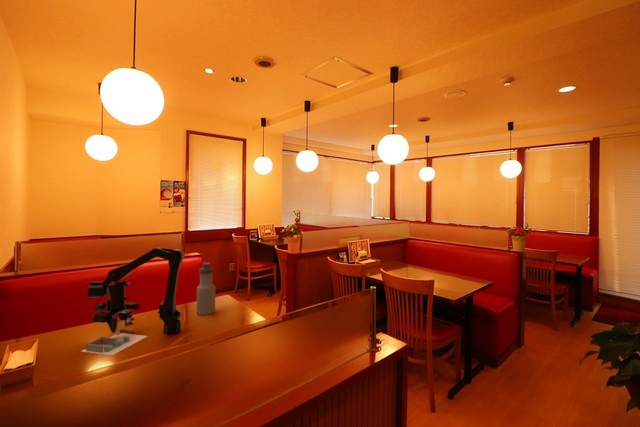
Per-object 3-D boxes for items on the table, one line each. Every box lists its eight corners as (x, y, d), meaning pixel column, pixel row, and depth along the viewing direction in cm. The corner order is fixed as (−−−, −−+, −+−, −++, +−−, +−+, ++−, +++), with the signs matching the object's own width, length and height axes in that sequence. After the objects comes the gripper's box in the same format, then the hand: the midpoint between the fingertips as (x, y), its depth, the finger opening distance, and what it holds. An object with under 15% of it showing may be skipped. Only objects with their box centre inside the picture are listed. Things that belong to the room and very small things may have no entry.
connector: (136, 333, 131) (136, 321, 131) (129, 336, 127) (129, 324, 127) (116, 331, 133) (116, 319, 133) (109, 334, 130) (109, 322, 130)
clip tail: (118, 346, 122) (118, 341, 122) (108, 351, 118) (108, 347, 118) (114, 345, 123) (114, 341, 123) (103, 351, 118) (103, 346, 118)
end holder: (116, 344, 124) (116, 338, 124) (100, 352, 117) (100, 346, 117) (102, 342, 125) (102, 337, 125) (86, 350, 118) (86, 344, 118)
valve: (116, 321, 152) (118, 328, 143) (116, 308, 152) (118, 315, 143) (131, 318, 156) (134, 325, 147) (131, 306, 156) (134, 312, 147)
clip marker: (128, 341, 127) (129, 336, 127) (118, 346, 122) (118, 341, 122) (125, 340, 128) (125, 336, 128) (114, 345, 123) (114, 341, 123)
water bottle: (197, 310, 170) (197, 261, 170) (215, 308, 173) (215, 261, 173) (195, 316, 160) (196, 265, 160) (214, 314, 163) (215, 264, 163)
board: (147, 338, 132) (147, 336, 132) (111, 357, 115) (111, 355, 115) (119, 335, 135) (119, 333, 135) (80, 353, 118) (80, 351, 118)
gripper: (120, 289, 141) (120, 321, 142) (81, 301, 123) (81, 338, 123) (140, 290, 139) (139, 323, 139) (103, 302, 121) (103, 340, 121)
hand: (117, 330), depth 131 cm, fingers closed on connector, 4 cm apart
